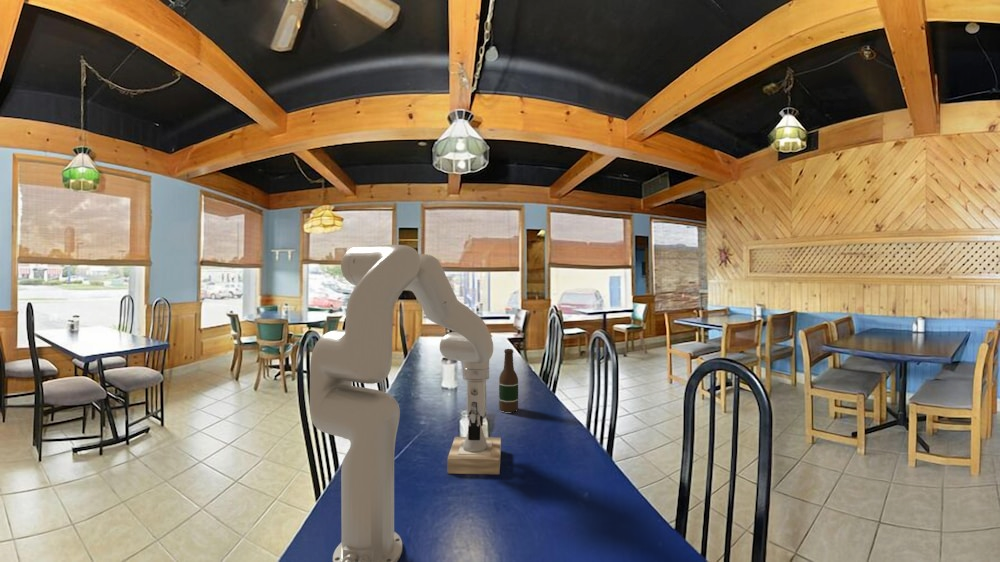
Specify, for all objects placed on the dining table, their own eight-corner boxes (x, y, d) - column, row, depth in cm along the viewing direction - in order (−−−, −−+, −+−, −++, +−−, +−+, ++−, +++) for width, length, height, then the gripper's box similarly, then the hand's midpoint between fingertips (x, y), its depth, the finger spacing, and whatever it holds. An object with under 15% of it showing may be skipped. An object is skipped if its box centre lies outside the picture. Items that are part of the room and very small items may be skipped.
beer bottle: (496, 412, 151) (496, 350, 151) (501, 406, 159) (502, 347, 158) (515, 414, 149) (516, 352, 149) (520, 408, 157) (520, 348, 156)
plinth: (499, 474, 105) (499, 458, 105) (447, 473, 106) (447, 457, 105) (500, 450, 119) (500, 437, 119) (454, 449, 120) (454, 436, 119)
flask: (484, 454, 108) (484, 417, 108) (459, 451, 109) (459, 415, 109) (490, 442, 115) (490, 409, 115) (466, 440, 116) (466, 407, 116)
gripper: (487, 381, 103) (487, 446, 103) (490, 365, 120) (490, 421, 121) (458, 381, 103) (458, 445, 104) (466, 365, 121) (466, 420, 121)
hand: (475, 432), depth 112 cm, fingers open, 9 cm apart
